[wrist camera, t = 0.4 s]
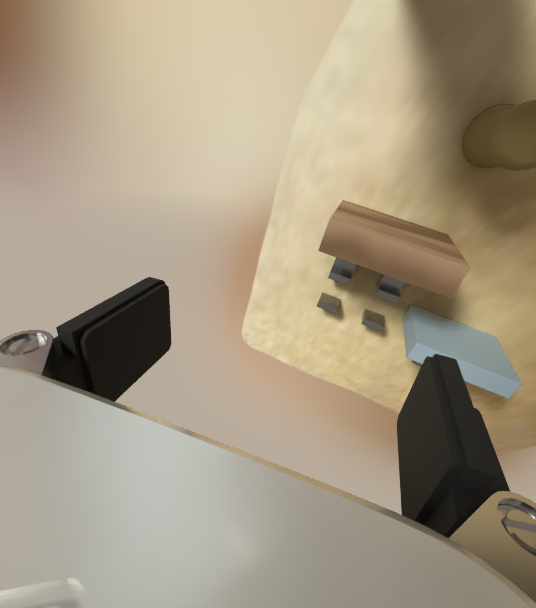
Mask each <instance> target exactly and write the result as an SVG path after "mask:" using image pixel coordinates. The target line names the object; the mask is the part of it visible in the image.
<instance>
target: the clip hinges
mask: <svg viewBox="0 0 536 608" xmlns="http://www.w3.org/2000/svg"><path fill="white" fill-rule="evenodd" d="M355 267H356V264H354V263H351V262H348V261H345V260H342V259H340V258H337V257H336V260H335V262H334V265H333V267H332V269H331V272H330V274H329V277H328V278H330V279H332V280H335V281H338V282H340V283H343V284H346V285H349V283H350V281H351V277H352V274H353V272H354V270H355ZM405 283H406V282H403V281H400V280H398V279H395V278H392V277H389V276H387V275H384V274H383V275H382V277H381V279H380V281H379V283H378V285H377V287H376V296H378V297H380V298H383V299H386V300H388V301H391V302H394V303H396V304H397V303H398V301H399V300H400V298H401V297H400V292H401V291H402V289H403V287H404V285H405ZM339 303H340V299H338V298H335V297H333V296H330V295H327V294H325V293H322V295H321V297H320V299H319V302H318V304H317V307H320V308H322V309H325V310H327V311H330V312H332V313H335V314H336V312H337V310H338V307H339ZM361 324H363V325H366V326H368V327H371V328H373V329H376V330H378V331H382V329H383V328H384V316H382V315H380V314H377V313H374V312H372V311H369V310H366V309H365V311H364V312H363V315H362V323H361Z"/></svg>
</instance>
